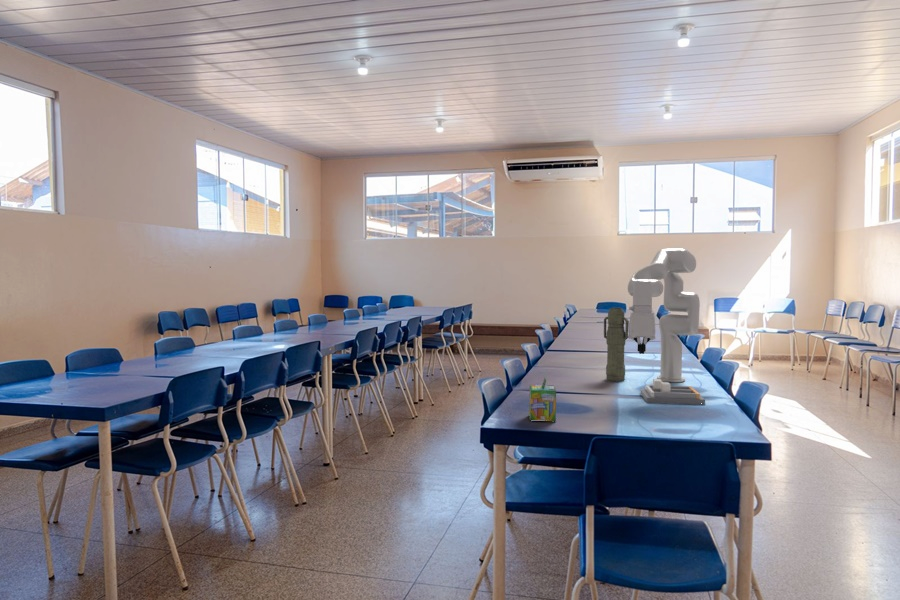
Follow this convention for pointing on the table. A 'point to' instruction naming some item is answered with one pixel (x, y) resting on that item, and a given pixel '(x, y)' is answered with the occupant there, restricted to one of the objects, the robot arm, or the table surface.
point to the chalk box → (542, 402)
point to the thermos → (615, 343)
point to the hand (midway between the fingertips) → (641, 353)
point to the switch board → (672, 395)
